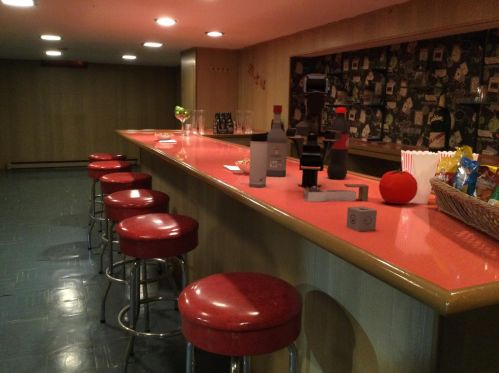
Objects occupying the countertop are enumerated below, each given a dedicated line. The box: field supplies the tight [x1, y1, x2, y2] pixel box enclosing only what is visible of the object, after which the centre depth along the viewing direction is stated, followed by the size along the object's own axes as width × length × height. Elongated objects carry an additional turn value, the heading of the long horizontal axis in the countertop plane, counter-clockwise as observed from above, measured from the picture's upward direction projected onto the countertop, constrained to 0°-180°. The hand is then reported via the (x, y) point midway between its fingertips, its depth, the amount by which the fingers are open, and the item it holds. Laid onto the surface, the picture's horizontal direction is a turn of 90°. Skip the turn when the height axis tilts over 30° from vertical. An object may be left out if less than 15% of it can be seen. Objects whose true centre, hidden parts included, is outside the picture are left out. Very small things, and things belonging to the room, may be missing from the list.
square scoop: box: [303, 188, 357, 203], centre depth 149 cm, size 16×6×3 cm, turn 98°
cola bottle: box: [326, 106, 351, 181], centre depth 195 cm, size 8×8×30 cm
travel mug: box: [248, 131, 270, 188], centre depth 170 cm, size 6×7×20 cm
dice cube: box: [346, 205, 378, 232], centre depth 115 cm, size 5×5×5 cm
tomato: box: [378, 168, 418, 205], centre depth 146 cm, size 12×12×11 cm
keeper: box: [344, 183, 370, 202], centre depth 151 cm, size 7×4×5 cm, turn 98°
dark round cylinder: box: [310, 186, 319, 192], centre depth 149 cm, size 2×2×4 cm
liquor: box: [266, 104, 288, 178], centre depth 198 cm, size 9×9×30 cm
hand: (311, 159), depth 157 cm, fingers open, 9 cm apart
